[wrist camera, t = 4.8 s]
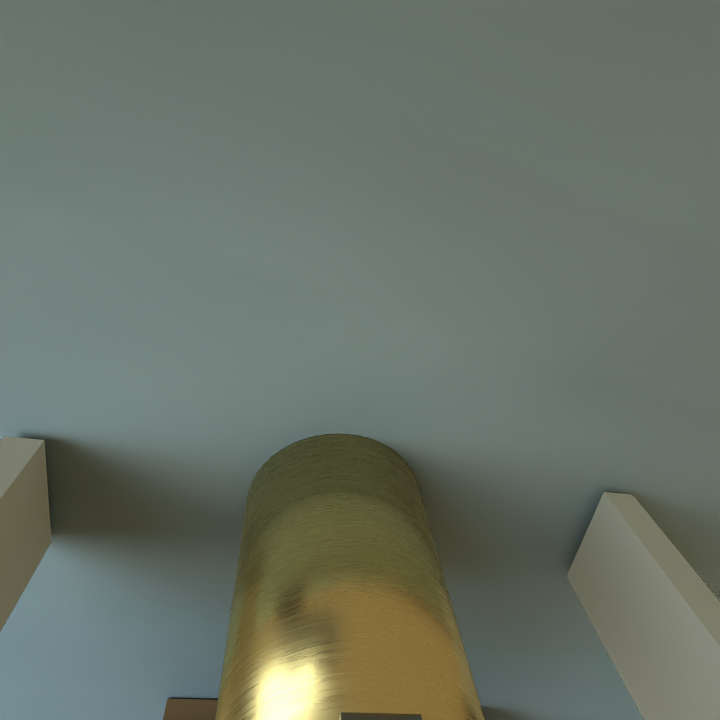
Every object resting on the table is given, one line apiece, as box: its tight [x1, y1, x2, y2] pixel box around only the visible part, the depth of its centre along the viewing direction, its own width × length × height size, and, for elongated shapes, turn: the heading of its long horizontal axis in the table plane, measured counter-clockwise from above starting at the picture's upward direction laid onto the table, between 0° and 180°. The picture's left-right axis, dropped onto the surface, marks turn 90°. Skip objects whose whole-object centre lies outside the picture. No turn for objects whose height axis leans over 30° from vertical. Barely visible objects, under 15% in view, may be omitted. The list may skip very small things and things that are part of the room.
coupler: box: [215, 434, 484, 720], centre depth 10 cm, size 4×4×7 cm
